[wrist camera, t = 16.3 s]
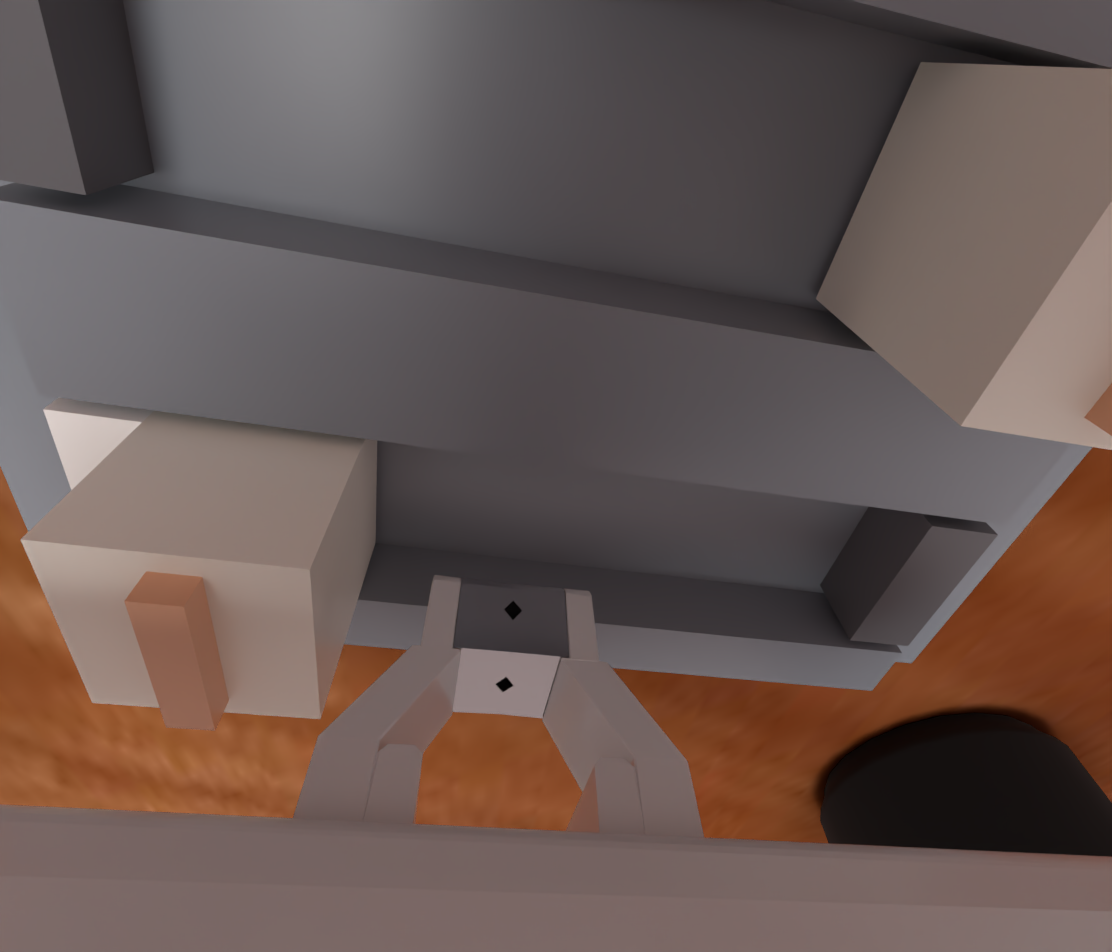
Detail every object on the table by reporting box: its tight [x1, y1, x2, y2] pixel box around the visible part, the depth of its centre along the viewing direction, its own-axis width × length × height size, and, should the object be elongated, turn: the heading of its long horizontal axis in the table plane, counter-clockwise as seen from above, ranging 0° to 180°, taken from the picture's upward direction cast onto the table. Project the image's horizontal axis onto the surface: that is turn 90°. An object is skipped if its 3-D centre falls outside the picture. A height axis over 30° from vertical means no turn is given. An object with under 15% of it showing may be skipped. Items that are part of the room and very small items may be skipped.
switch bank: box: [0, 0, 1112, 691], centre depth 13 cm, size 18×26×4 cm
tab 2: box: [816, 62, 1112, 450], centre depth 9 cm, size 4×4×6 cm
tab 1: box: [21, 411, 377, 731], centre depth 12 cm, size 4×4×6 cm
